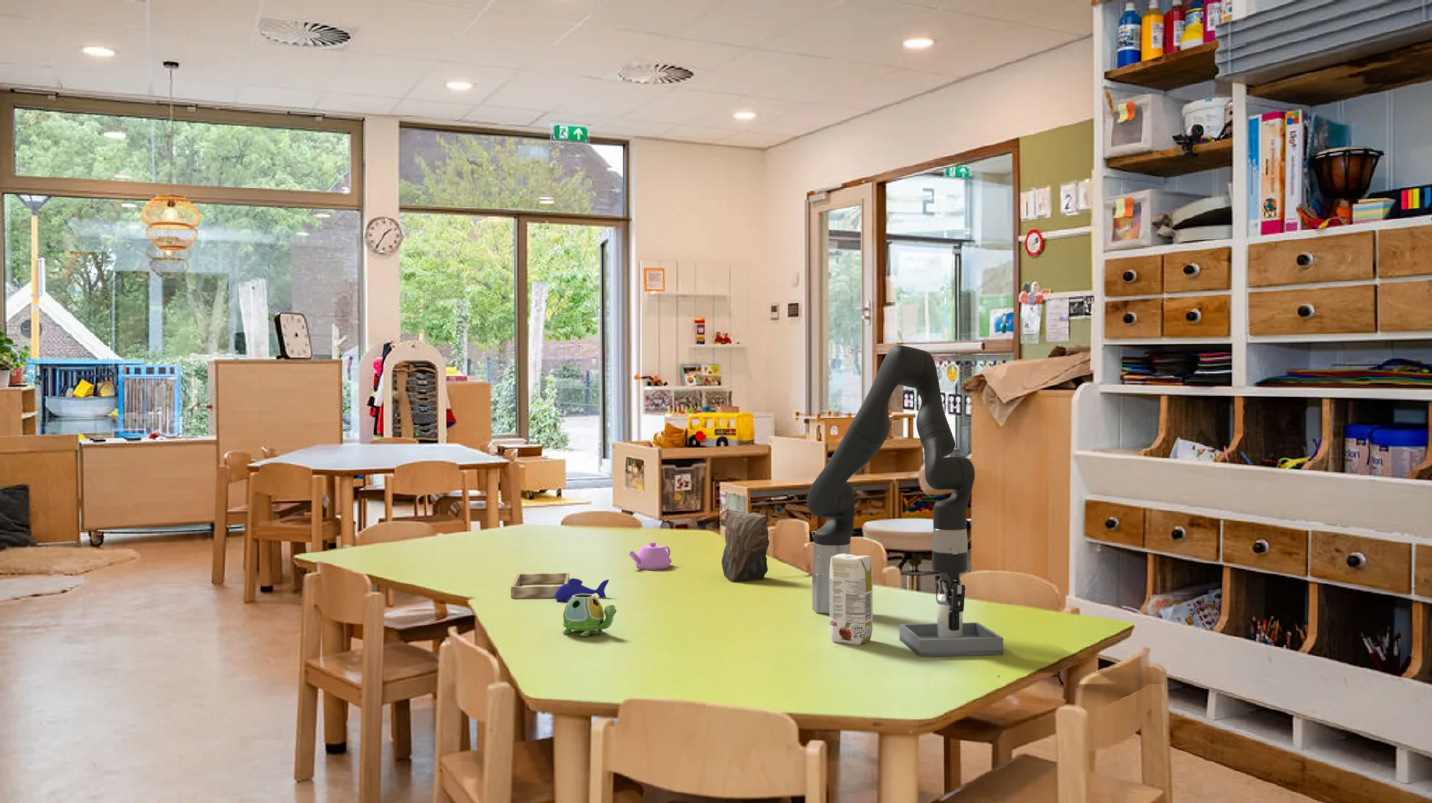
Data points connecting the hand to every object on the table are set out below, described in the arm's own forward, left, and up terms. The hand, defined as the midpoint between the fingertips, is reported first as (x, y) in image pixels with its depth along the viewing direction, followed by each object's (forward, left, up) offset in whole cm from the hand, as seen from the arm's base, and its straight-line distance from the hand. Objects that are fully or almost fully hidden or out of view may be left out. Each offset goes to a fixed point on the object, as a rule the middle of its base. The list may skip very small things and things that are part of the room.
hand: (949, 626), depth 238 cm
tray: (0, 0, -4) cm, 4 cm away
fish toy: (-80, +60, -5) cm, 100 cm away
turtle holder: (-78, +23, -5) cm, 81 cm away
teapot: (-61, +106, -5) cm, 123 cm away
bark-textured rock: (-33, +88, -5) cm, 95 cm away
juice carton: (-20, +8, -5) cm, 22 cm away
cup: (0, 0, -2) cm, 2 cm away
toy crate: (-92, +73, -4) cm, 117 cm away
